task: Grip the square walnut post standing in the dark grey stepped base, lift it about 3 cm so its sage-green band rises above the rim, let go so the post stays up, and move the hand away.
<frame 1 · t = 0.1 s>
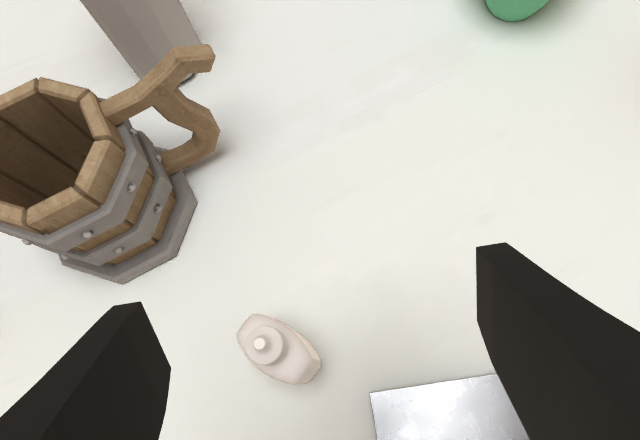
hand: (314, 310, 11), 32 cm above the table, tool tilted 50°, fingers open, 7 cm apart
tankard: (162, 193, 48), on the table
water bottle: (173, 53, 52), on the table
eye dropper bottle: (289, 353, 42), on the table
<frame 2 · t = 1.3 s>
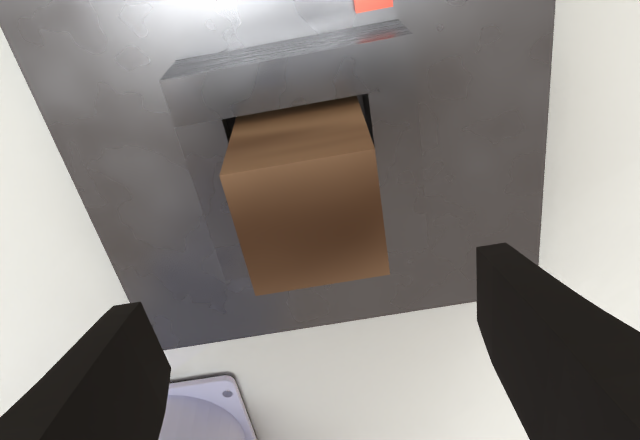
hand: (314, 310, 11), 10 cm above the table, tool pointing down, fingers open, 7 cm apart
dark grey stepped base: (305, 134, 20), on the table
walnut post: (308, 181, 16), point 4 cm above the table, slide at 0.0 cm
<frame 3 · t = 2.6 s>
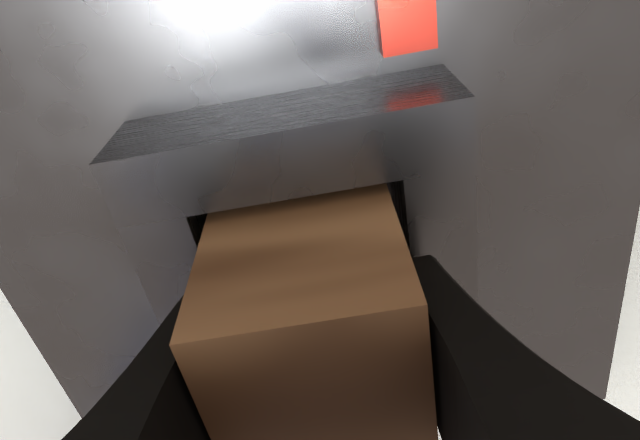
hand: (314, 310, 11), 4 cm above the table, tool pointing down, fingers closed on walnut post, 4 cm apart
dark grey stepped base: (309, 209, 15), on the table
walnut post: (313, 303, 11), point 4 cm above the table, slide at 0.0 cm, touching gripper
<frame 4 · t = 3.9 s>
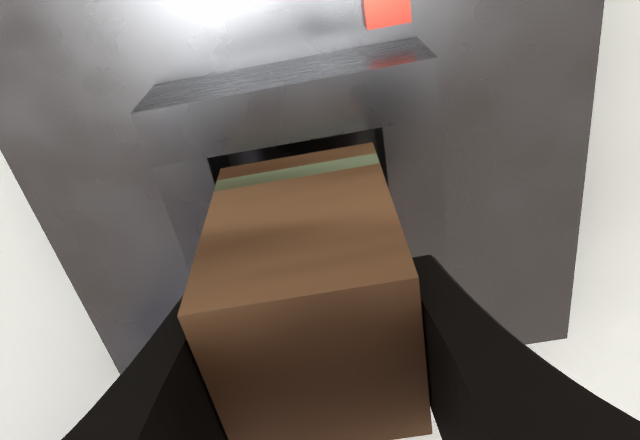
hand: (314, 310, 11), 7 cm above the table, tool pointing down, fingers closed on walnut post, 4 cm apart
dark grey stepped base: (307, 165, 17), on the table
walnut post: (312, 284, 12), point 6 cm above the table, slide at 2.3 cm, touching gripper
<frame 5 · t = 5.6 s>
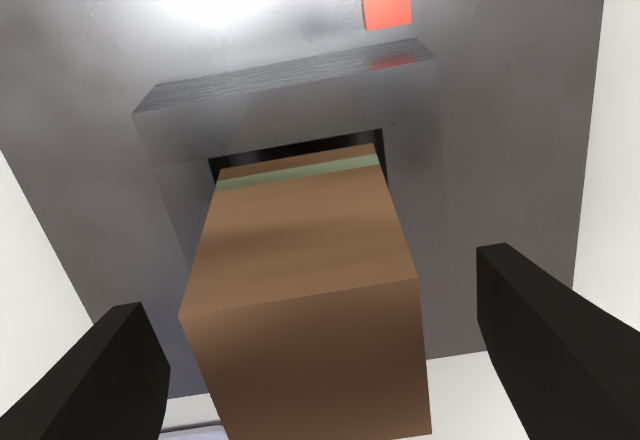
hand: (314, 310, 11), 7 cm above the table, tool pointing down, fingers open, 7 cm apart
dark grey stepped base: (307, 166, 17), on the table
walnut post: (312, 284, 12), point 6 cm above the table, slide at 2.3 cm
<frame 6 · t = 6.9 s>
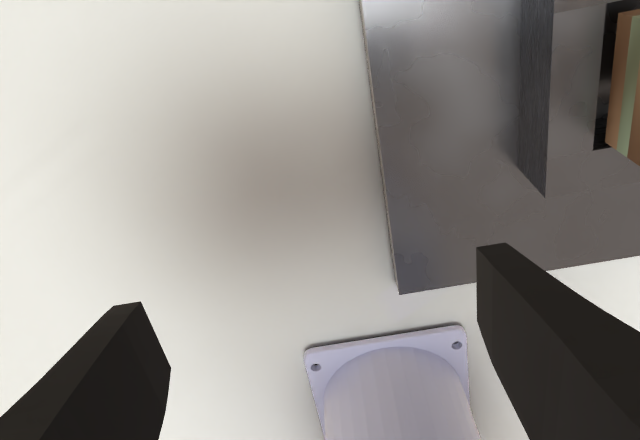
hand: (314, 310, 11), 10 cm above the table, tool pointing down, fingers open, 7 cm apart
dark grey stepped base: (614, 45, 19), on the table
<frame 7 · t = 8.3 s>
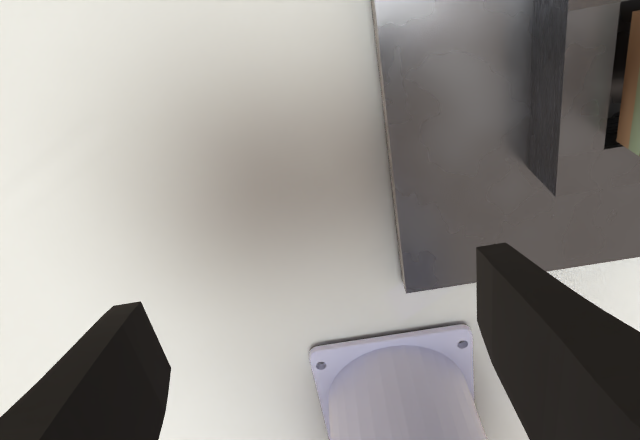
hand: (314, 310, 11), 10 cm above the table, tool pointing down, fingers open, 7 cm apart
dark grey stepped base: (624, 45, 19), on the table
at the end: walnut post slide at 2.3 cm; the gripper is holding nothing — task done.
